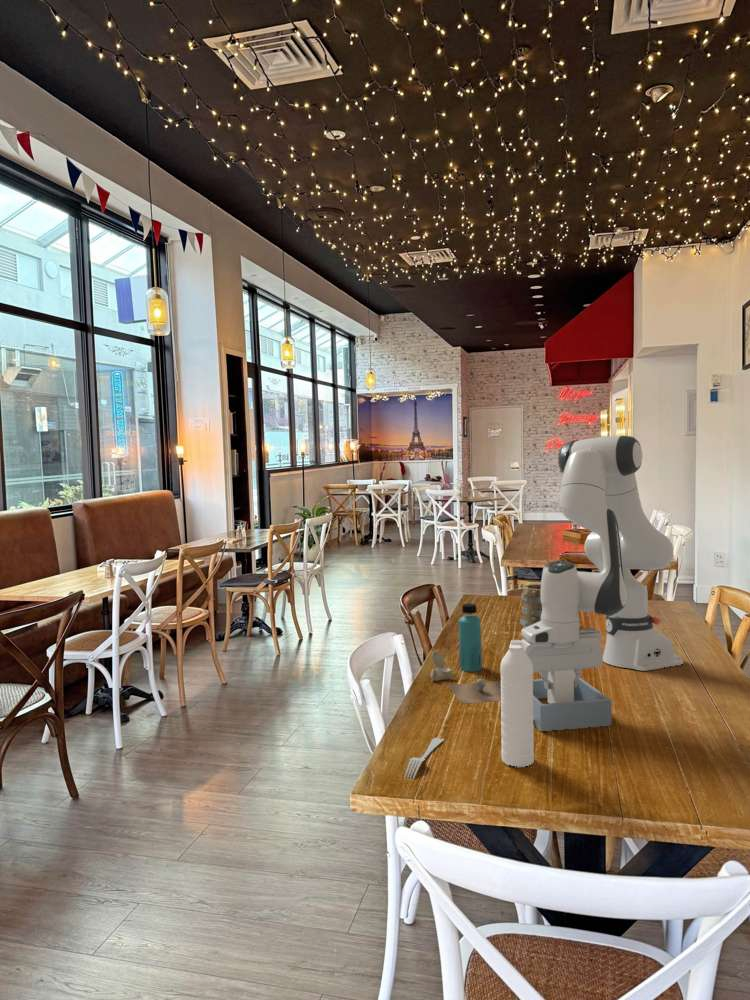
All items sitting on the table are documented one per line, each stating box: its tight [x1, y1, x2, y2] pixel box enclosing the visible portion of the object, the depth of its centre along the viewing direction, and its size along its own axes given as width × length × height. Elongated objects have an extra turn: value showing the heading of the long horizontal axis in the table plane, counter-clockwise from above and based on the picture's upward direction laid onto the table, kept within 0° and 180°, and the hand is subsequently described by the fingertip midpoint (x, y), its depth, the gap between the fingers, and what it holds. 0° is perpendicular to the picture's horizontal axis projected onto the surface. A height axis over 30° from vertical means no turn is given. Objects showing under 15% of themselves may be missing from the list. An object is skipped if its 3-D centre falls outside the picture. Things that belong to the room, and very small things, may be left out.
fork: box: [404, 737, 445, 781], centre depth 141 cm, size 3×21×3 cm, turn 157°
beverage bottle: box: [458, 603, 483, 673], centre depth 193 cm, size 6×7×20 cm
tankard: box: [519, 583, 542, 628], centre depth 242 cm, size 20×13×15 cm, turn 144°
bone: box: [429, 650, 455, 682], centre depth 187 cm, size 9×6×10 cm
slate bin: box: [533, 677, 612, 732], centre depth 162 cm, size 17×17×6 cm
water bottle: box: [499, 639, 535, 768], centre depth 137 cm, size 9×6×25 cm
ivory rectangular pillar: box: [547, 669, 574, 704], centre depth 162 cm, size 5×5×9 cm
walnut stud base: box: [447, 678, 501, 705], centre depth 175 cm, size 14×14×5 cm
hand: (560, 687), depth 162 cm, fingers closed on ivory rectangular pillar, 5 cm apart
